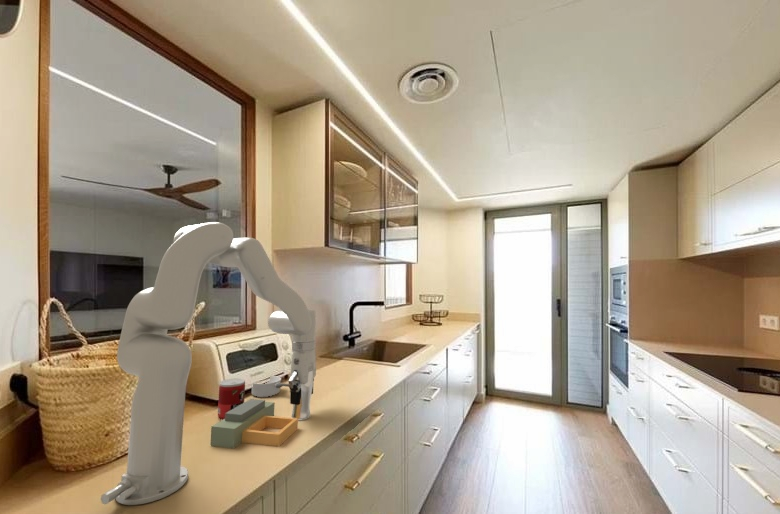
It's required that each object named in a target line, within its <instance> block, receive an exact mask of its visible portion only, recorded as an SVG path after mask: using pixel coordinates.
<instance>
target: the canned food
mask: <svg viewBox="0 0 780 514" xmlns="http://www.w3.org/2000/svg"><path fill="white" fill-rule="evenodd" d="M245 389H246V379H244V378H239V377H238V378H227V379H224V380H222V381H220V382H219V385H218V400H217V401H218V403H217V404H218V405H217V417H218V419H220V420H221V419H222V420H223V419H225V413H227V412H228V411H230V410H232V409H234V408H236V407H237V406H239V405H241V404H243V403H244V402H245V395H246V393H245V392H246V390H245Z"/></svg>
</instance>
